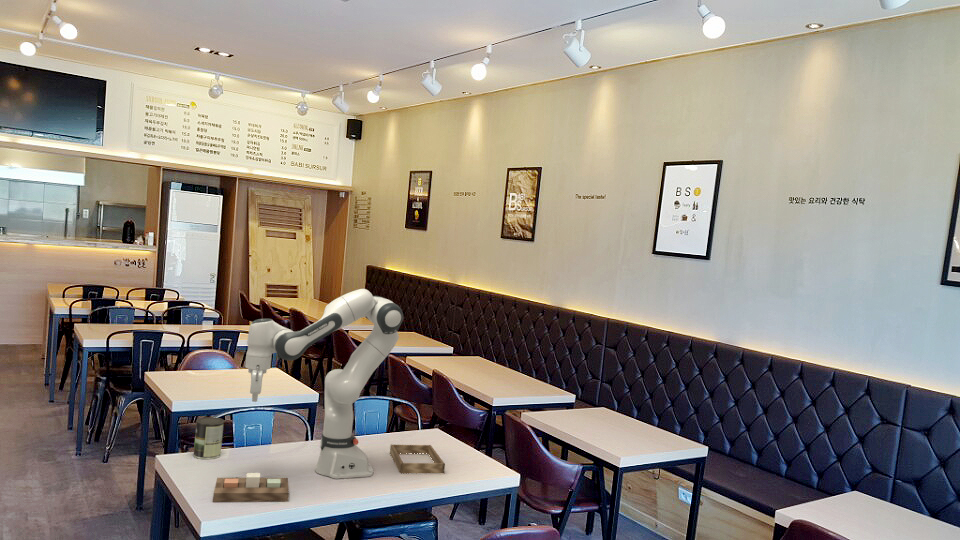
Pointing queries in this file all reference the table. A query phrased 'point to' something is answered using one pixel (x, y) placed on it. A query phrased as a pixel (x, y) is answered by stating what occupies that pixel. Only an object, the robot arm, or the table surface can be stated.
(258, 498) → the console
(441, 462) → the frame
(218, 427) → the coffee can
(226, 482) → the key terracotta
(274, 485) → the key sage
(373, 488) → the table surface
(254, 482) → the cream cube
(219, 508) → the table surface
